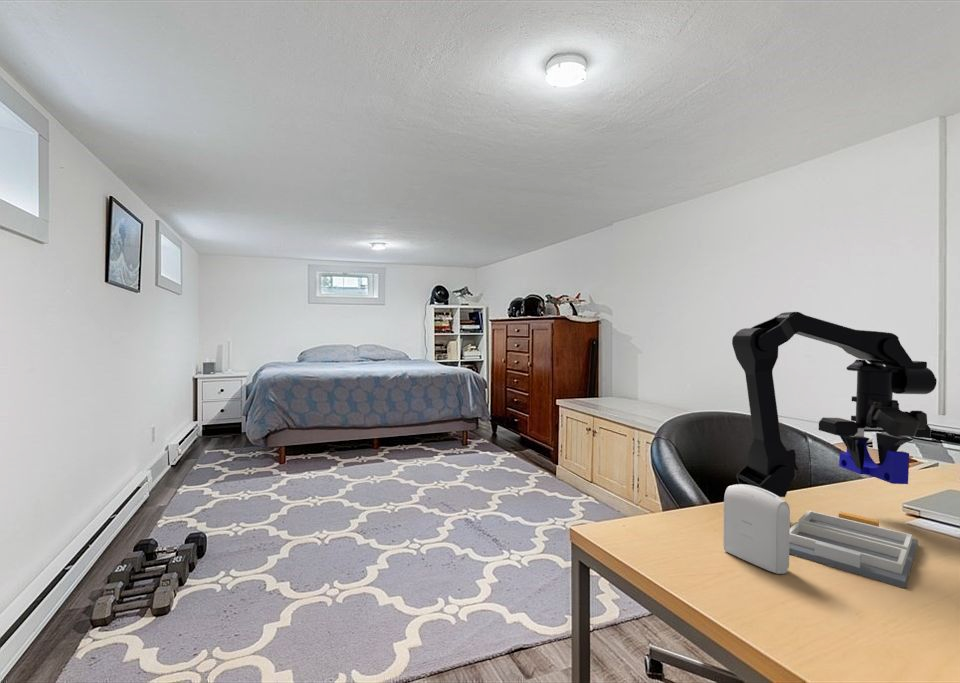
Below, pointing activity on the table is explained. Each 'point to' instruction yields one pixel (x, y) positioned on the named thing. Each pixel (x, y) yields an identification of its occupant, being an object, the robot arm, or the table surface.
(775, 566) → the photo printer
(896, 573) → the dock board
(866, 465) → the blue curved cradle
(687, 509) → the table surface
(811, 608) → the table surface
